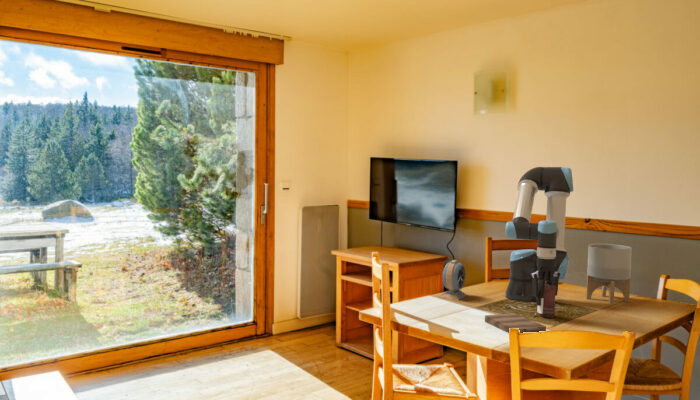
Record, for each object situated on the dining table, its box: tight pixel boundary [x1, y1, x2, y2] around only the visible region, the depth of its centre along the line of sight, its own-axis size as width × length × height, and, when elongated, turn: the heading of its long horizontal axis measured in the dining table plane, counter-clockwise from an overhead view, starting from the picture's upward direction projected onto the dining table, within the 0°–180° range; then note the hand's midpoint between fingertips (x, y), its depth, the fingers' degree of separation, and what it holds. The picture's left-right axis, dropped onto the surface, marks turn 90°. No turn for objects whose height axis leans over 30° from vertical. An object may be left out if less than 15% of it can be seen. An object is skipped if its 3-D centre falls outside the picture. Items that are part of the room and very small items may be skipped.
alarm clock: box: [439, 259, 468, 301], centre depth 265 cm, size 14×10×18 cm
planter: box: [585, 243, 633, 306], centre depth 263 cm, size 19×19×26 cm
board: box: [484, 312, 547, 334], centre depth 213 cm, size 22×14×2 cm, turn 19°
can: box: [538, 282, 556, 319], centre depth 231 cm, size 6×6×14 cm
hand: (544, 312), depth 231 cm, fingers open, 3 cm apart
